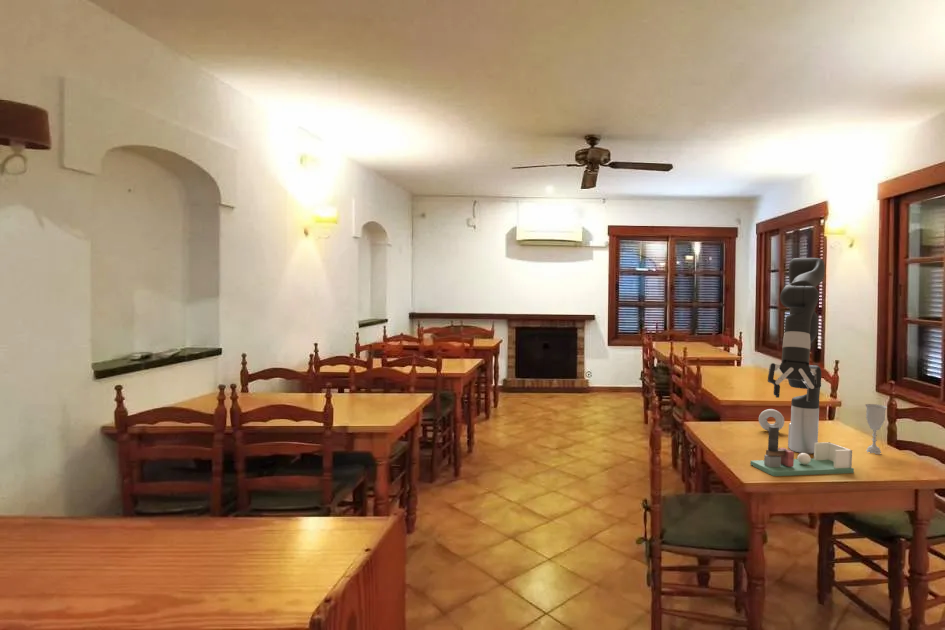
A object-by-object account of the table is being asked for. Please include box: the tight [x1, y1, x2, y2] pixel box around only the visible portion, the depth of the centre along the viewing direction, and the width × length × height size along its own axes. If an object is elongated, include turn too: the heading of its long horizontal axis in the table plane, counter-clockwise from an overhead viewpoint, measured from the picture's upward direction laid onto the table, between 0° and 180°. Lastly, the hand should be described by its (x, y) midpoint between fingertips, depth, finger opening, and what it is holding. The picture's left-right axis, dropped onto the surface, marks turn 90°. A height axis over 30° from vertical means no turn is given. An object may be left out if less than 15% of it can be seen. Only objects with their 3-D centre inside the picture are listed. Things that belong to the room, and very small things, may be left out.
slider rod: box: [765, 426, 795, 467], centre depth 193 cm, size 5×8×13 cm, turn 99°
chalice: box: [864, 403, 888, 455], centre depth 216 cm, size 7×7×18 cm
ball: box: [796, 452, 811, 465], centre depth 195 cm, size 4×4×4 cm
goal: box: [813, 441, 853, 468], centre depth 197 cm, size 10×6×6 cm, turn 9°
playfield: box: [749, 454, 855, 477], centre depth 195 cm, size 12×30×5 cm, turn 99°
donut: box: [758, 408, 785, 432], centre depth 246 cm, size 10×3×10 cm, turn 60°
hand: (792, 399), depth 174 cm, fingers open, 8 cm apart
